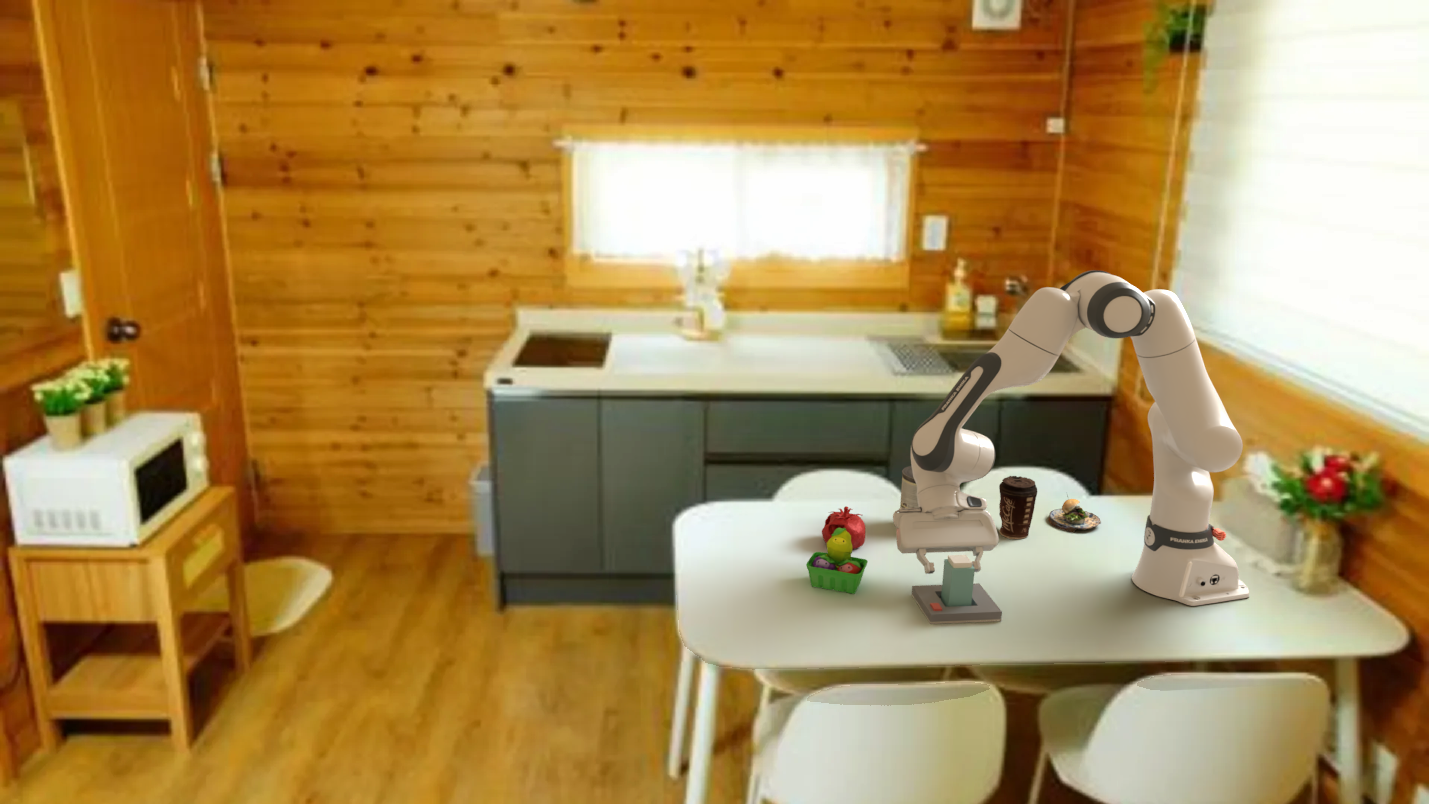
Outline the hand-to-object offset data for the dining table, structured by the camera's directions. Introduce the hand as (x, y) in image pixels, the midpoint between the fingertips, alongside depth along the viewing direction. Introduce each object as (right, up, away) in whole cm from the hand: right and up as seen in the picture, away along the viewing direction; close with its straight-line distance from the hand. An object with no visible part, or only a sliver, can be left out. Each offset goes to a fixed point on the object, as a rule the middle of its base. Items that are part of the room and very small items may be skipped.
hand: (953, 571), depth 206 cm
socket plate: (0, -7, -1) cm, 7 cm away
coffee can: (+1, +4, +36) cm, 36 cm away
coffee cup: (+22, +3, +35) cm, 41 cm away
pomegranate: (-18, +1, +27) cm, 33 cm away
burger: (+38, +4, +42) cm, 57 cm away
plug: (0, -7, -1) cm, 7 cm away
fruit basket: (-22, -4, +8) cm, 24 cm away
